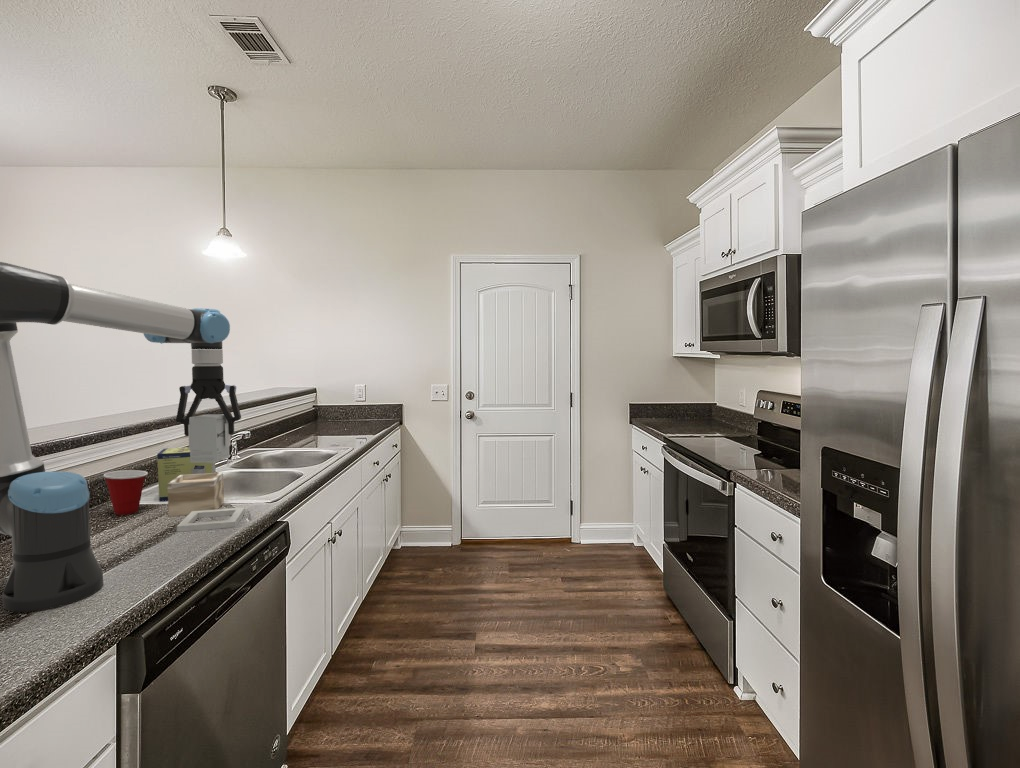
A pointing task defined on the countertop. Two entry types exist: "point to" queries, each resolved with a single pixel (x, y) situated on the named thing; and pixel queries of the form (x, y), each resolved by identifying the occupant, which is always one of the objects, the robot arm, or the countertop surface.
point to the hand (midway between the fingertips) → (210, 446)
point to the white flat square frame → (191, 526)
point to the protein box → (177, 468)
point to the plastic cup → (125, 490)
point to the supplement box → (208, 438)
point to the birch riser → (195, 493)
